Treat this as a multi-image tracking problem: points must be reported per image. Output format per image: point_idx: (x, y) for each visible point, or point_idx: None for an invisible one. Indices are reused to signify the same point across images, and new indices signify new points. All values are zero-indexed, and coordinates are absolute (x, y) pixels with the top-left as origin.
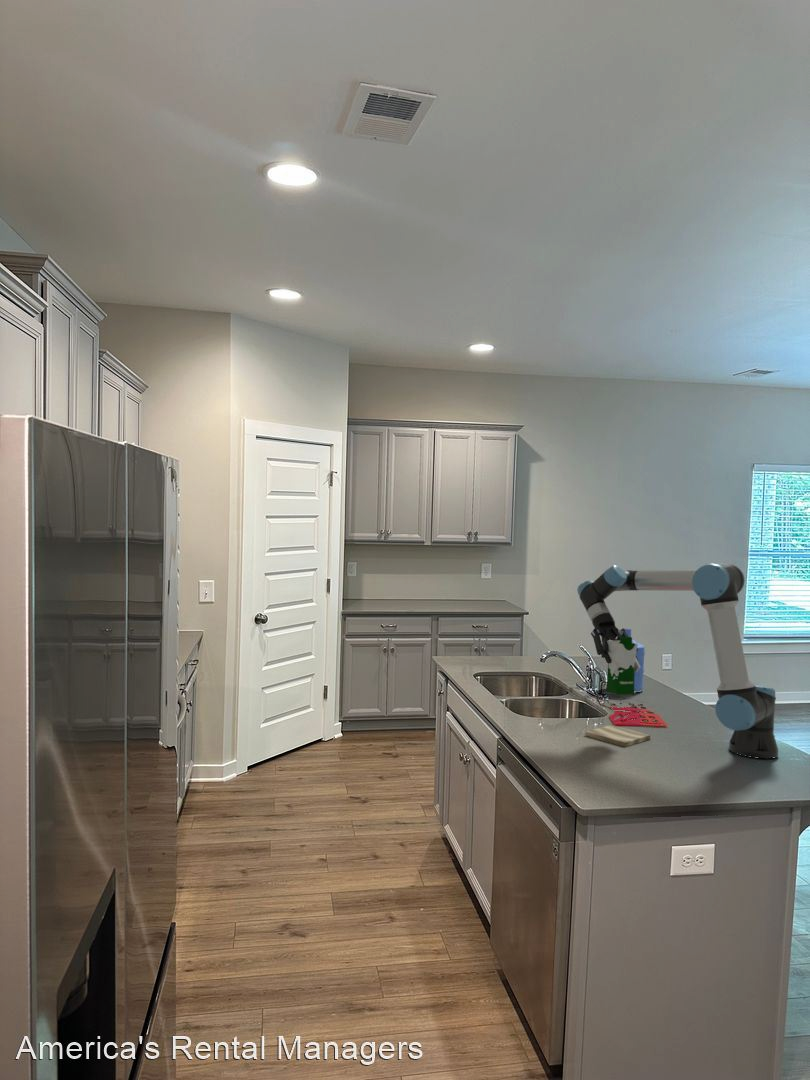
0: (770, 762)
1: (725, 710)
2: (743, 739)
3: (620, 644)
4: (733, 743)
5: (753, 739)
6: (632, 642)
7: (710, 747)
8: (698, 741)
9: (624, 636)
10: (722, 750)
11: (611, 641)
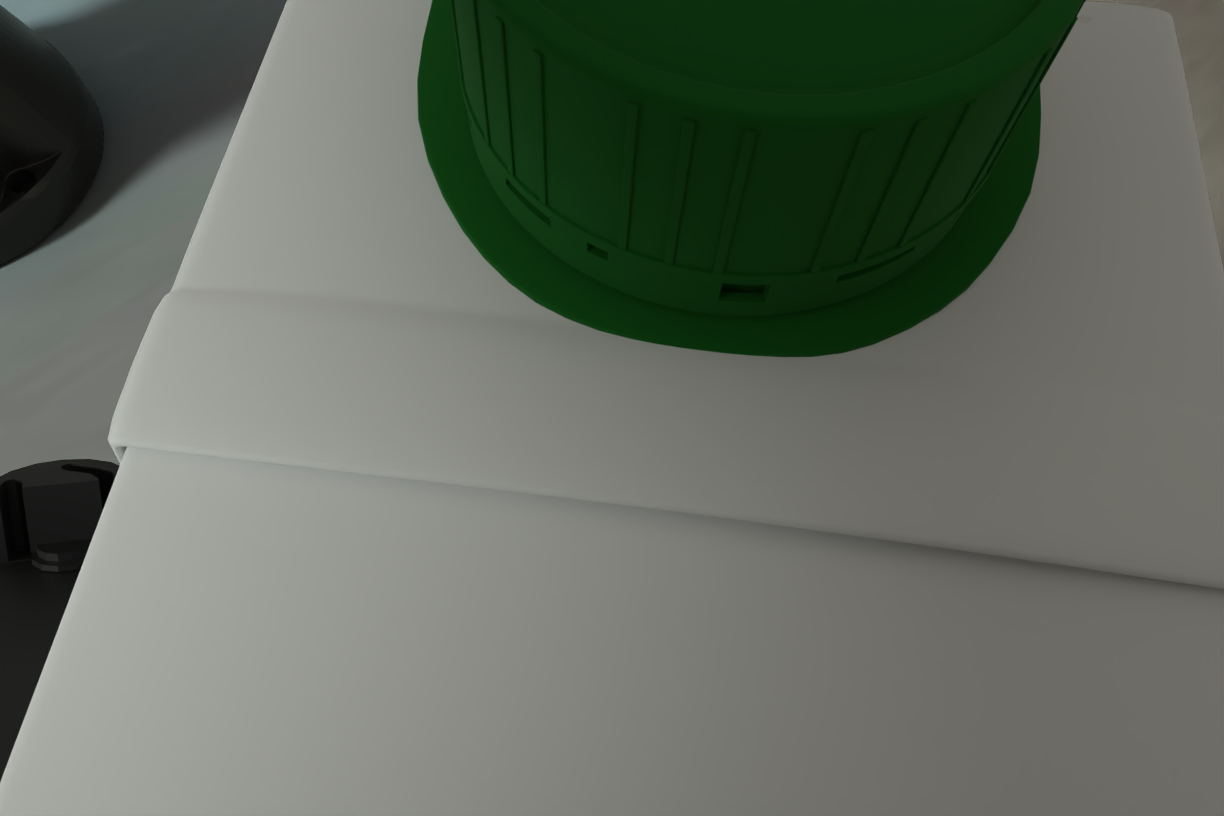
0: (65, 28)
1: None
2: (29, 68)
3: (1129, 7)
4: (9, 190)
5: (8, 13)
6: (268, 151)
7: (99, 325)
8: (24, 460)
9: (651, 73)
10: (91, 255)
11: (1166, 716)
